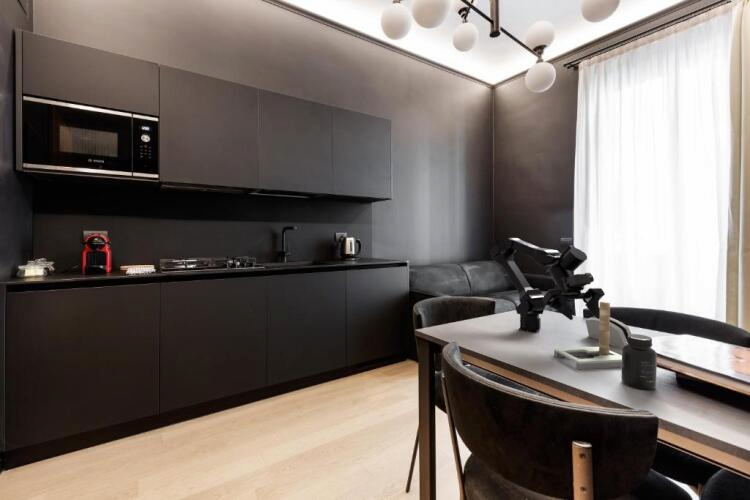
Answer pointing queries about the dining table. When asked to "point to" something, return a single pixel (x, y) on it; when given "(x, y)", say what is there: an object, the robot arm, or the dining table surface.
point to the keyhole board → (592, 363)
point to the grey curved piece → (616, 331)
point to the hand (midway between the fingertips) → (585, 318)
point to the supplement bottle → (639, 363)
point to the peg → (604, 329)
